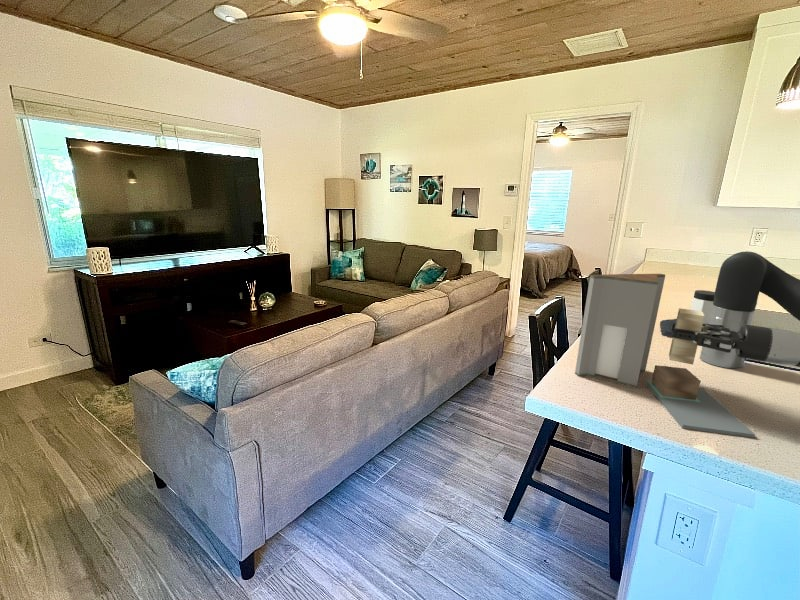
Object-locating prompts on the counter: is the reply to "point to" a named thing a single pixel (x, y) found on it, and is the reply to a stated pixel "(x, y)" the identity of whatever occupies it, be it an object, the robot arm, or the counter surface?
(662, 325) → the dark slate chunk
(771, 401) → the counter surface
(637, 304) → the cabinet
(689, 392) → the base block
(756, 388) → the counter surface
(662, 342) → the counter surface
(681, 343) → the pillar
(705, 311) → the jar
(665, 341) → the counter surface
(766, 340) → the robot arm
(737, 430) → the mat
